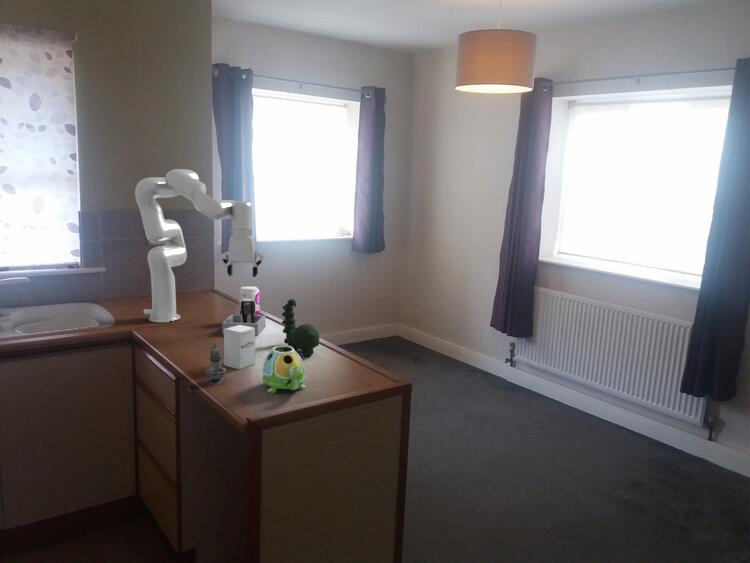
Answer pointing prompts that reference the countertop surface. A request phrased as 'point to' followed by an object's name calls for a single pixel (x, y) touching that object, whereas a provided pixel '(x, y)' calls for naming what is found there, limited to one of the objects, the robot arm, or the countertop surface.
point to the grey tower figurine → (215, 367)
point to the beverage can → (248, 310)
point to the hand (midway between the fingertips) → (242, 276)
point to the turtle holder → (283, 369)
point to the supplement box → (239, 346)
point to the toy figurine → (299, 332)
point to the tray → (236, 320)
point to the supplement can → (250, 296)
